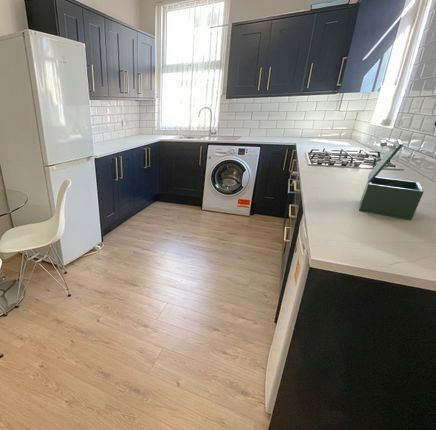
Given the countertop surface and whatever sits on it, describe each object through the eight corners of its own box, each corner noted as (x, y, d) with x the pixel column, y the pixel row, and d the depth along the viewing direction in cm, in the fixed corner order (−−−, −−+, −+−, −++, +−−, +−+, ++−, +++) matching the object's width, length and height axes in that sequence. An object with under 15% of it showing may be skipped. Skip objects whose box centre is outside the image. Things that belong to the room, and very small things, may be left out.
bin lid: (400, 140, 107) (384, 135, 109) (403, 144, 96) (386, 138, 98) (370, 175, 115) (356, 169, 118) (370, 183, 104) (354, 176, 107)
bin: (407, 208, 111) (418, 182, 107) (411, 220, 100) (423, 191, 96) (360, 200, 120) (369, 176, 116) (358, 210, 109) (368, 183, 105)
